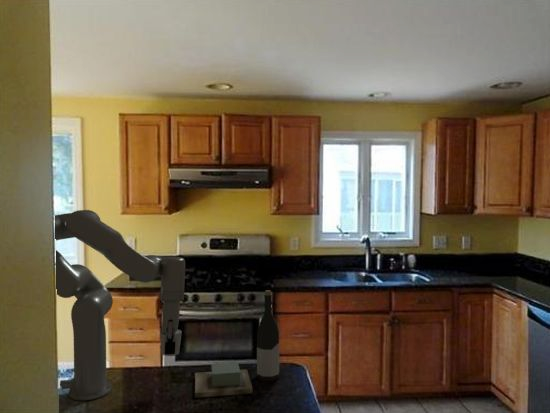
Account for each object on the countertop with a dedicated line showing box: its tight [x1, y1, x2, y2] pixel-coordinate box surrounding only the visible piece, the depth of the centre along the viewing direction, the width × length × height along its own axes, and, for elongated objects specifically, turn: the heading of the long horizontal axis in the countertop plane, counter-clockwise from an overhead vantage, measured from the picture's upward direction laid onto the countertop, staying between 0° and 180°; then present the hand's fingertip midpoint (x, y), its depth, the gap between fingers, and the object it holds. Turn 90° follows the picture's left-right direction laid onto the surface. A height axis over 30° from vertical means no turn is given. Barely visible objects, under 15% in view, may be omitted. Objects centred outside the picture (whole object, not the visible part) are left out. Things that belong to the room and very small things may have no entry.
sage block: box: [211, 361, 241, 386], centre depth 145 cm, size 9×9×4 cm
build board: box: [194, 368, 253, 398], centre depth 145 cm, size 18×16×2 cm
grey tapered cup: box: [159, 329, 182, 357], centre depth 142 cm, size 7×7×7 cm
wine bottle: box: [256, 289, 280, 382], centre depth 152 cm, size 8×8×30 cm
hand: (170, 349), depth 142 cm, fingers closed on grey tapered cup, 5 cm apart
